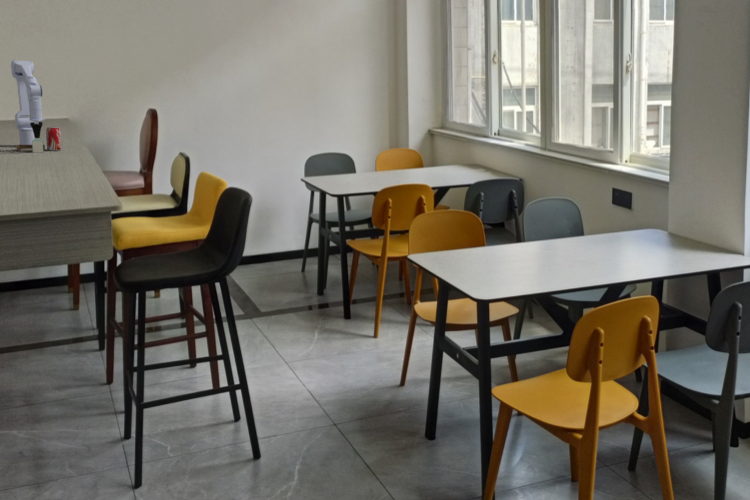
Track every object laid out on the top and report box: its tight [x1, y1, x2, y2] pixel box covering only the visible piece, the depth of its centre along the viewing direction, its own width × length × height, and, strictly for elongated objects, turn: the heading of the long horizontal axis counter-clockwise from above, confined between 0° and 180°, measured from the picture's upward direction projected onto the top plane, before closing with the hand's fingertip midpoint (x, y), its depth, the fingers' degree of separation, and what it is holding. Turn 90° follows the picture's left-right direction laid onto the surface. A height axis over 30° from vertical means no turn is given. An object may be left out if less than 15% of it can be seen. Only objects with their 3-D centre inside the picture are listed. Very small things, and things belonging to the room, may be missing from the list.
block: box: [31, 139, 45, 154], centre depth 384 cm, size 5×5×6 cm
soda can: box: [45, 125, 63, 152], centre depth 392 cm, size 7×7×12 cm
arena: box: [15, 144, 46, 152], centre depth 389 cm, size 8×13×2 cm, turn 113°
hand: (37, 137), depth 383 cm, fingers open, 7 cm apart
